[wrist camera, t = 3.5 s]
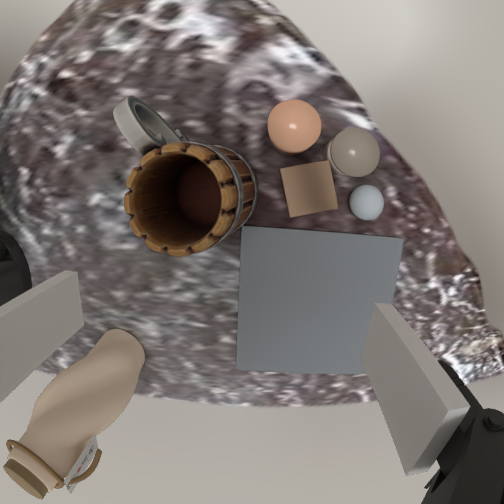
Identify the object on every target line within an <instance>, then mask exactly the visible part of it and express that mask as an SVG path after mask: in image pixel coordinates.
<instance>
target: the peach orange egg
mask: <svg viewBox="0 0 504 504" xmlns="http://www.w3.org/2000/svg"><path fill="white" fill-rule="evenodd" d="M268 132H269V139H270V142H271V144H272V146H273V147H274V148H275V149H276V150H277V151H278V152H280V153H281V154H284V155H288V156H294V155H298V154H301V153H303V152H304V151H305V150H307V149H308V148H309V147H310V146H311V145H313V144H314V143H315V142H316V140H317V139H318V137H319V135H320V132H321V120H320V117H319V115H318V113H317V111H316V110H315V109H314V108H313V107H312V106H311V105H310V104H308V103H306V102H304V101H301V100H286V101H283V102H281V103H279V104H278V105H276V106H275V107H274V108H273V110H272V111H271V113H270V115H269V118H268Z"/></svg>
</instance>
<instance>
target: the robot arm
mask: <svg viewBox="0 0 504 504" xmlns="http://www.w3.org/2000/svg"><path fill="white" fill-rule="evenodd" d="M83 326H84V319H83V313H82V306H81V299H80V291H79V283H78V274H77V272H73V271H67V270H65V271H63V272H61V273H59V274H57V275H55V276H54V277H52V278H50V279H48V280H46V281H44V282H42V283H41V284H39V285H37V286H35V287H33V288H32V289H31V278H30V273H29V269H28V265H27V262H26V259H25V257H24V254H23V252H22V250H21V249H20V247H19V245H18V244H17V242H16V241H15V240H14V239H13V238H12V237H11V236H10V235H9V234H7V233H5V232H2V231H0V402H2V401H3V400H4V399H5V398H6V397H7V396H8V395H9V394H10V393H11V392H12V391H13V390H14V389H15V388H16V387H17V386H18V385H19V384H20V383H21V382H22V381H23V380H24V379H26V378H27V377H28V376H29V375H30V374H31V373H32V372H33V371H34V370H35V369H36V368H37V367H38V366H39V365H41V364H42V363H43V362H44V361H45V360H46V359H47V358H48V357H49V356H50V355H51V354H53V353H54V352H55V351H56V350H57V349H58V348H59V347H60V346H61V345H62V344H64V343H65V342H66V341H67V340H68V339H69V338H70V337H71V336H73V335H74V334H75V333H76V332H77V331H78V330H79V329H81V328H82V327H83ZM361 361H362V363H363V366H364V368H365V371H366V373H367V375H368V378H369V380H370V382H371V385H372V387H373V390H374V392H375V395H376V397H377V400H378V402H379V405H380V407H381V410H382V412H383V415H384V417H385V420H386V423H387V425H388V428H389V430H390V433H391V436H392V438H393V441H394V443H395V446H396V449H397V452H398V455H399V457H400V460H401V463H402V466H403V469H404V472H405V474H406V476H409V475H414V474H419V473H423V472H427V471H428V470H429V469H430V467H431V466H432V465H433V463H434V462H435V460H436V459H437V461H438V464H439V466H440V469H439V470H438V471H437V473H436V474H435V475H434V476H433V478H432V479H431V480H430V481H429V482H428V484H427V485H426V486H425V487H424V488H426V489H427V488H428V487H429V486H430V487H429V489H428V491H427V493H426V495H425V497H424V499H423V501H422V503H421V504H504V414H503V413H502V412H500V411H498V410H495V409H490V408H488V409H483V408H482V406H481V405H480V404H479V402H478V401H477V400H476V398H475V397H474V396H473V394H472V393H471V392H470V390H469V389H468V388H467V386H466V385H465V386H464V382H463V381H462V380H461V378H459V376H458V375H457V373H456V372H455V371H454V369H453V368H452V367H450V366H449V365H448V364H446V363H445V362H443V361H442V360H438V361H437V360H436V359H435V357H434V356H433V355H432V353H431V352H430V351H429V350H428V348H427V347H426V346H425V345H424V343H423V342H422V341H421V339H420V338H419V337H418V336H417V334H416V333H415V332H414V331H413V330H412V328H411V327H410V326H409V325H408V323H407V322H406V321H405V320H404V319H403V317H402V316H401V315H400V314H399V313H398V311H397V310H396V309H395V308H394V307H393V305H392V304H384V303H375V305H374V309H373V314H372V318H371V322H370V326H369V330H368V334H367V337H366V341H365V345H364V348H363V352H362V355H361Z"/></svg>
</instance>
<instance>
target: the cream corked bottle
mask: <svg viewBox="0 0 504 504" xmlns="http://www.w3.org/2000/svg"><path fill="white" fill-rule="evenodd" d="M144 362H145V353H144V350H143V347H142V346H141V344H140V343H139V341H138V340H137V339H136V338H135V337H134V336H133V335H131V334H130V333H128V332H126V331H124V330H120V329H111V330H109V331H107V332H106V333H105V334H104V335H103V336H102V337H101V339H100V340H99V341H98V342H97V343H96V345H95V346H94V347H93V348H92V349H91V351H90V352H89V353H88V354H87V355H86V357H84V358H83V359H81V360H79V361H78V362H76V363H74V364H73V365H71V366H70V367H68V368H67V369H65V370H64V371H62V372H61V373H59V374H58V375H57V376H56V377H55V378H54V379H53V380H52V381H51V382H50V384H49V385H48V386H47V387H46V388H45V389H44V391H43V392H42V393H41V395H40V396H39V397H38V399H37V401H36V403H35V405H34V409H33V413H32V416H31V420H30V423H29V425H28V428H27V431H26V432H25V433H24V435H23V436H22V437H21V438H20V440H19V441H18V442H17V441H14V440H8V441H7V443H6V445H7V448H8V450H9V452H10V453H9V455H8V457H7V459H8V461H7V463H6V464H5V465H4V466H3V468H4V470H5V471H6V473H7V474H8V475H9V476H10V477H11V478H12V479H13V480H14V481H15V482H16V483H17V484H18V485H19V486H20V487H22V488H23V489H24V490H25V491H27V492H28V493H30V494H31V495H33V496H35V497H37V498H39V499H43V498H44V496H45V495H46V493H47V492H48V493H49V492H51V491H52V489H53V488H57V489H59V488H62V487H63V486H64V485H66V487H67V489H68V490H69V491H70V493H72V491H73V490H74V488H75V486H76V485H77V483H78V482H80V481H82V480H84V479H86V478H87V477H88V476H90V475H91V474H92V473H93V471H94V470H95V468H96V467H97V465H98V463H99V460H100V457H101V454H102V451H101V450H100V449H98V446H97V440H96V435H98V434H99V433H101V432H102V431H104V430H105V429H106V428H107V427H109V426H110V425H111V424H112V423H113V422H114V421H115V420H116V419H117V418H118V417H119V415H120V414H121V413H122V412H123V410H124V409H125V408H126V406H127V404H128V403H129V401H130V399H131V397H132V395H133V393H134V391H135V388H136V385H137V382H138V378H139V373H140V370H141V368H142V366H143V364H144ZM11 445H13V446H14V447H13V449H12V446H11ZM94 455H95V457H94ZM93 457H94V460H93V462H92V464H91V466H90V467H89V468H88V469H87V470H86V468H87V467H88V465H89V463H90V462H91V460H92V459H93ZM85 470H86V471H85ZM65 477H66V479H65V480H64V479H63V478H65ZM70 484H71V486H69V485H70Z"/></svg>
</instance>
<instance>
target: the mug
mask: <svg viewBox="0 0 504 504" xmlns="http://www.w3.org/2000/svg"><path fill="white" fill-rule="evenodd" d="M113 114H114V118H115V121H116V124H117V125H118V127H119V129H120V131H121V132H122V134H123V135H124V137H125V138H126V140H127V141H128V142H129V143H130V144H131V146H132V147H133V148H134V149H135V150H136V151H138V152H139V153H140V154H141V155H143V156H144V157H143V158H142V159H141V160H140V167H135V168H134V169H133V170H132V172H131V174H130V176H129V178H128V180H127V187H128V189H129V190H130V191H129V192H127V193H126V194H125V197H124V208H125V211H126V213H127V214H128V215H130V216H132V217H131V219H130V221H129V223H130V227H131V229H132V230H133V232H134V233H135V235H136V236H137V237H139V238H145V244H146V245H147V246H148V247H149V248H151V249H152V250H154V251H157V252H159V253H164V252H165V251H167V252H168V254H169V255H170V256H176V257H183V256H189V255H190V254H195V253H201V252H203V251H205V250H208V249H210V248H212V247H214V246H215V245H217V244H218V243H219V242H221V241H222V240H223V239H224V238H225V237H227V236H228V235H229V234H231V233H233V232H235V231H236V230H237V229H239V228H240V227H241V226H242V225H244V224H245V223H246V222H247V220H248V219H249V217H250V216H251V215H252V213H253V211H254V208H255V206H256V203H257V197H258V185H257V179H256V176H255V173H254V171H253V169H252V167H251V165H250V164H249V163H248V162H247V161H246V159H245V158H244V157H243V156H241V155H240V154H239V153H237V152H236V151H234V150H232V149H229V148H226V147H223V146H218V145H206V144H203V143H198V142H189V141H188V140H187V138H186V137H185V136H184V134H183V133H182V132H181V131H180V130H179V129H177V130H175V131H174V130H173V129H172V128H171V127H170V126H169V125H168V123H167V122H166V121H165V120H164V119H163V118H162V117H161V116H160V115H159V114H158V113H157V112H156V111H155V110H154V109H153V108H152V107H150V106H149V105H148V104H146V103H145V102H144V101H142V100H141V99H139V98H137V97H135V96H129V97H127V98H126V99H125V100H124V101H122V102H121V103H120V104H119V105H118V106H116V107H115V108H114V111H113ZM143 124H144V125H145V126H147V127H148V128H149V129H150V130H151V131H152V132H153V133H154V134H155V135H156V136H153V135H152V134H151V133H150V132H149V131H148V130H147V129H146V127H145V126H144V125H143Z"/></svg>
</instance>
